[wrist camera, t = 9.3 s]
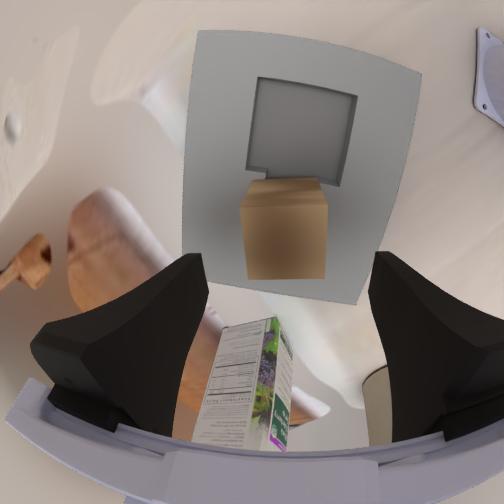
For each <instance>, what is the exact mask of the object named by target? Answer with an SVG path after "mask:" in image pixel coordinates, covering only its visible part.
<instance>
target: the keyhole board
mask: <svg viewBox="0 0 504 504" xmlns="http://www.w3.org/2000/svg"><path fill="white" fill-rule="evenodd" d="M421 76H422V74H421V73H419V72H416V71H414V70H412V69H409V68H407V67H404V66H402V65H399V64H397V63H394V62H391V61H389V60H386V59H383V58H380V57H377V56H374V55H371V54H368V53H365V52H361V51H358V50H354V49H351V48H347V47H343V46H339V45H335V44H331V43H327V42H322V41H317V40H312V39H307V38H301V37H295V36H288V35H281V34H273V33H263V32H251V31H230V30H200V31H198V35H197V41H196V47H195V54H194V61H193V69H192V77H191V85H190V94H189V104H188V115H187V127H186V140H185V156H184V175H183V205H182V256H183V255H185V254H187V253H201V255H202V260H203V265H204V270H205V275H206V280H207V281H208V282H213V283H218V284H225V285H229V286H235V287H240V288H246V289H252V290H258V291H264V292H270V293H276V294H282V295H288V296H294V297H301V298H307V299H314V300H321V301H328V302H335V303H342V304H349V305H356V303H357V300H358V298H359V296H360V294H361V291H362V289H363V287H364V284H365V282H366V279H367V277H368V275H369V272H370V270H371V267H372V265H373V262H374V256H375V251H378V249H379V246H380V243H381V241H382V238H383V235H384V232H385V229H386V226H387V223H388V220H389V217H390V214H391V211H392V208H393V205H394V201H395V198H396V195H397V191H398V188H399V184H400V181H401V177H402V173H403V170H404V166H405V162H406V158H407V153H408V149H409V145H410V140H411V136H412V131H413V126H414V121H415V116H416V110H417V104H418V98H419V91H420V84H421ZM280 178H317V179H318V182H319V184H320V187H321V189H322V192H323V194H324V196H325V199H326V202H327V204H328V224H327V249H326V267H325V279H286V280H248V275H247V267H246V258H245V250H244V241H243V233H242V224H241V215H240V206H241V204H242V201H243V199H244V197H245V195H246V193H247V190H248V188H249V186H250V184H251V182H252V180H258V179H280Z"/></svg>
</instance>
